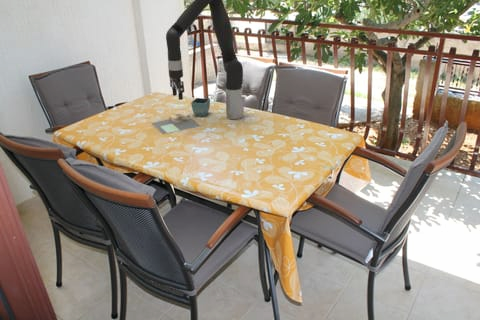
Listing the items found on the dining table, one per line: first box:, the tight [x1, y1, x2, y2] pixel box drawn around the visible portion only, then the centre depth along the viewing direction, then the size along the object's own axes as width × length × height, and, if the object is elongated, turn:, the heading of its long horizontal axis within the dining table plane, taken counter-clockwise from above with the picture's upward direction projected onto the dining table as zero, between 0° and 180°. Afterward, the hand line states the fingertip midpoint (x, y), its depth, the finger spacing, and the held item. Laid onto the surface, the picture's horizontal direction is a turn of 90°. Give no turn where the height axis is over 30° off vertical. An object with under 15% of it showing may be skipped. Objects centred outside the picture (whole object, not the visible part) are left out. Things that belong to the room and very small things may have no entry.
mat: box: [150, 117, 201, 135], centre depth 224 cm, size 22×19×1 cm
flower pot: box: [190, 97, 211, 117], centre depth 236 cm, size 9×9×9 cm
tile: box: [169, 112, 191, 123], centre depth 229 cm, size 10×5×3 cm, turn 120°
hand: (177, 97), depth 223 cm, fingers open, 8 cm apart
